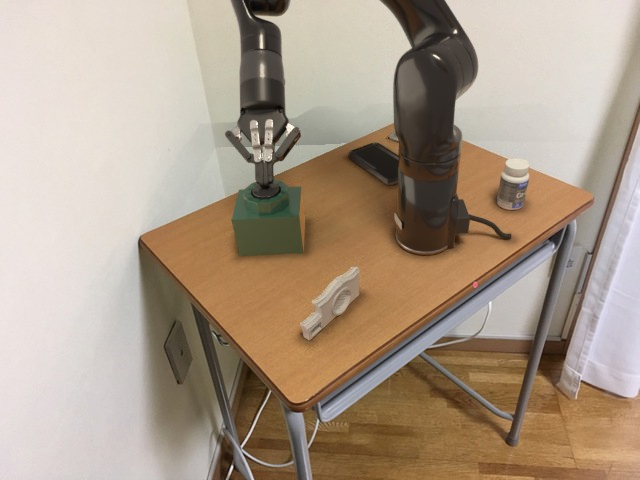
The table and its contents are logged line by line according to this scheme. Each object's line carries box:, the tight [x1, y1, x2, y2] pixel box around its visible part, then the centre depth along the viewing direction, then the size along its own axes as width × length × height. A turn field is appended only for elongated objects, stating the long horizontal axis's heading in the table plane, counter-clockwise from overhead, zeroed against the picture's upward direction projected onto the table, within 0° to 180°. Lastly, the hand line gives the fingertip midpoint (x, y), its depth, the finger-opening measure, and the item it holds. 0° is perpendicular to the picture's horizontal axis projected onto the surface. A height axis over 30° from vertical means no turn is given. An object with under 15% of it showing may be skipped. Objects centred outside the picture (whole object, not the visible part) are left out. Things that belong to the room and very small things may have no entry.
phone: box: [348, 142, 399, 186], centre depth 108 cm, size 8×1×15 cm
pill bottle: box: [496, 157, 531, 211], centre depth 92 cm, size 5×5×8 cm
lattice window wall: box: [299, 266, 361, 342], centre depth 74 cm, size 12×2×6 cm, turn 139°
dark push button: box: [252, 183, 280, 200], centre depth 86 cm, size 4×4×3 cm
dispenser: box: [231, 178, 306, 257], centre depth 88 cm, size 11×9×10 cm
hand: (264, 186), depth 85 cm, fingers closed
